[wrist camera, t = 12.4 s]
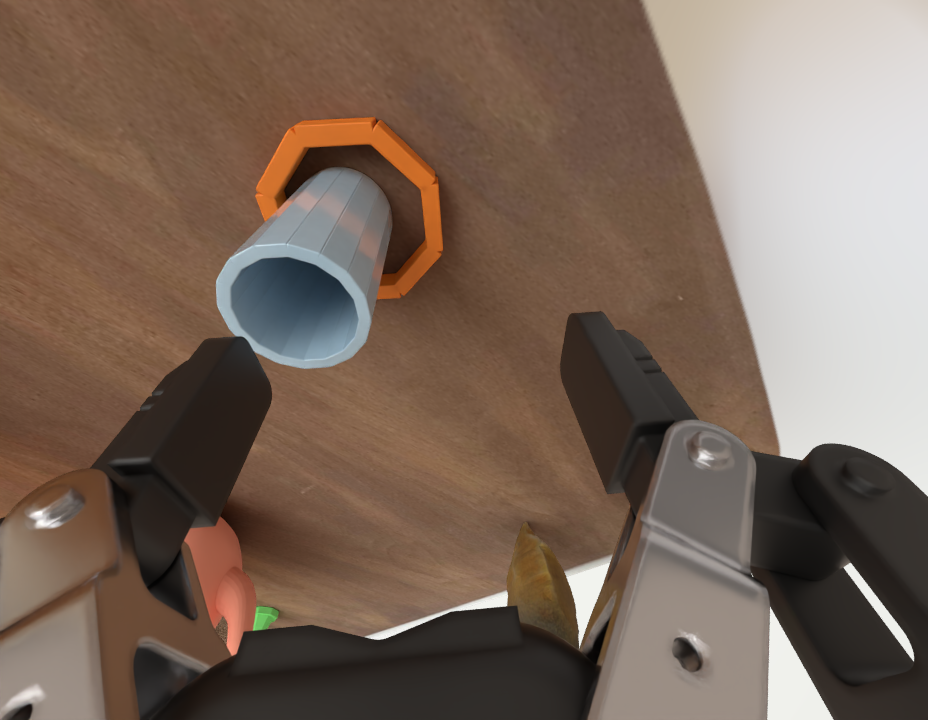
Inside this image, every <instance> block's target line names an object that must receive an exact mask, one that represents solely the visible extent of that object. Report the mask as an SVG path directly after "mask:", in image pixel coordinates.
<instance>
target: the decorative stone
mask: <svg viewBox="0 0 928 720" xmlns="http://www.w3.org/2000/svg"><path fill="white" fill-rule="evenodd" d="M507 592H508V604H507V606H517V607H518V613H519V619H520V622H522V623H526V624H531V625H534V626H536V627H539V628H542V629H544V630H547V631H549V632H551V633H553V634H555V635H556V636H558V637H560V638H562V639H564V640H565V641H567V642H568V643H570V644H571V645H572V646H574V647H575V648H577V649H578V650H579V641H578V634H579V630H578V624H577V619H576V608H575V603H574V598H573V595H572V592H571V588H570V586H569V583H568V581H567V578H566V575H565V573H564V571H563V569H562V567H561V565H560V564H559V562H558V560H557V558H556V556H555V555H554V553H553V552H552V550H551V549H550V548H549V547H548V546H547V545H546V544H545V543H544V542H543V541H542V540H541V539H540V538H539V537H538V536H535V535H534V533H533V532H532V530H531V529H530V527H529V526H528V523H527V522H525V523H524V524H523V525H522V528H521V530H520V533H519V536H518V538H517V541H516V544H515V549H514V553H513V557H512V561H511V565H510V568H509V572H508V576H507Z"/></svg>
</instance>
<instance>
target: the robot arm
mask: <svg viewBox="0 0 928 720" xmlns="http://www.w3.org/2000/svg"><path fill="white" fill-rule="evenodd" d="M560 372H561V379H562V383H563V386H564V388H565V390H566V393H567V395H568V398H569V400H570V403H571V405H572V408H573V410H574V413H575V415H576V418H577V420H578V423H579V425H580V428H581V430H582V433H583V435H584V438H585V440H586V443H587V445H588V448H589V450H590V453H591V455H592V458H593V460H594V463H595V465H596V468H597V470H598V472H599V475H600V477H601V480H602V482H603V485H604V487H605V490H606V492H607V494H614V493H625V494H626V496H627V498H628V500H629V503H630V507H629V509H628V511H627V514H626V517H625V520H624V523H623V526H622V529H621V532H620V535H619V538H618V541H617V544H616V547H615V550H614V553H613V556H612V559H611V562H610V565H609V568H608V571H607V574H606V577H605V580H604V584H603V586H602V589H601V592H600V595H599V597H598V599H597V602H596V604H595V607H594V609H593V611H592V614H591V617H590V619H589V622H588V625H587V628H586V631H585V634H584V637H583V640H582V643H581V646H580V649H579V650H578V649H577V648H575V647H574V646H572V645H571V644H570V643H568V642H567V641H565V640H564V639H562V638H560V637H558V636H556V635H555V634H553V633H551V632H549V631H547V630H544V629H542V628H539V627H536V626H534V625H531V624H526V623H522V622H520V619H519V613H518V607H517V606H506V607H496V608H486V609H475V610H464V611H454V612H449V613H447V614H445V615H442V616H440V617H437V618H435V619H432V620H430V621H428V622H425V623H423V624H420V625H418V626H415V627H413V628H411V629H408V630H406V631H403V632H401V633H399V634H396V635H394V636H391V637H389V638H386V639H382V640H374V639H369V638H365V637H361V636H356V635H352V634H348V633H344V632H339V631H335V630H331V629H327V628H323V627H318V626H314V625H307V626H296V627H286V628H275V629H265V630H254V631H244V632H243V635H242V638H241V641H240V644H239V647H238V651H237V654H235V655H233V656H232V655H231V653H230V651H229V649H228V648H227V646H226V644H225V643H224V641H223V640H222V639H221V637H220V636H219V635H218V633H217V632H216V630H215V628H214V626H213V624H212V622H211V619H210V616H209V612H208V609H207V605H206V602H205V598H204V595H203V591H202V588H201V584H200V581H199V577H198V574H197V570H196V567H195V563H194V560H193V557H192V553H191V550H190V547H189V545H188V544H187V543H186V542H185V541H184V540H185V538H186V536H187V534H188V532H189V530H190V528H201V527H213V526H216V524H217V522H218V519H219V517H220V515H221V513H222V511H223V508H224V506H225V504H226V502H227V500H228V497H229V495H230V493H231V491H232V489H233V486H234V484H235V482H236V480H237V478H238V475H239V473H240V471H241V469H242V467H243V464H244V462H245V460H246V458H247V456H248V453H249V451H250V449H251V447H252V445H253V442H254V440H255V438H256V436H257V433H258V431H259V429H260V427H261V425H262V422H263V420H264V418H265V416H266V414H267V411H268V409H269V407H270V404H271V400H272V390H271V385H270V382H269V380H268V378H267V376H266V374H265V372H264V370H263V368H262V366H261V364H260V363H259V361H258V359H257V357H256V355H255V353H254V351H253V349H252V347H251V345H250V343H249V342H248V341H247V339H245V338H244V337H242V336H236V337H222V338H209V339H206V340H204V341H203V342H202V344H201V345H200V346H199V347H198V349H197V350H196V351H195V352H194V354H193V355H192V356H191V357H190V359H189V360H188V361H185V362H184V363H183V364H181V365H180V366H179V367H177V368H176V369H175V370H173V371H172V372H170V373H169V374H168V375H166V376H165V377H164V379H163V380H162V381H161V382H160V384H159V385H158V386H157V387H156V388H155V390H154V391H153V392H152V396H150V397H148V398H147V399H146V401H145V402H144V403H143V404H142V405H141V407H140V411H137V412H136V413H135V414H134V415H133V416H132V418H131V419H130V420H129V421H128V423H127V424H126V425H125V426H124V427H123V429H122V430H121V431H120V432H119V434H118V435H117V436H116V437H115V438H114V440H113V441H112V442H111V443H110V445H109V446H108V447H107V448H106V449H105V451H104V452H103V453H102V454H101V456H100V457H99V458H98V459H97V460H96V462H95V463H94V464H93V465H92V467H91V468H88V469H80V470H76V471H72V472H69V473H66V474H63V475H61V476H58V477H56V478H54V479H52V480H50V481H48V482H46V483H45V484H43V485H41V486H40V487H38V488H37V489H35V490H34V491H32V492H31V493H29V494H28V495H27V496H26V497H25V498H23V499H22V500H21V501H20V502H19V503H18V504H17V505H16V506H15V507H14V508H13V509H12V510H11V511H10V512H9V513H8V515H7V516H6V517H4V518H1V519H0V720H767V706H768V663H769V625H770V607H771V609H772V610H773V612H774V614H775V616H776V618H777V619H778V621H779V623H780V625H781V627H782V628H783V630H784V632H785V634H786V635H787V637H788V639H789V641H790V642H791V644H792V646H793V648H794V650H795V651H796V653H797V655H798V657H799V659H800V660H801V662H802V664H803V666H804V668H805V669H806V671H807V673H808V674H809V676H810V678H811V680H812V682H813V683H814V685H815V687H816V689H817V691H818V692H819V694H820V696H821V698H822V700H823V701H824V703H825V705H826V707H827V708H828V710H829V712H830V714H831V716H832V717H833V719H834V720H928V496H927V495H925V494H924V493H923V492H922V491H921V490H920V489H919V488H918V487H917V486H916V485H915V484H914V483H913V482H912V481H911V480H910V479H909V478H907V477H906V476H905V475H904V474H903V473H902V472H901V471H899V470H898V469H897V468H895V467H894V466H892V465H891V464H889V463H888V462H886V461H884V460H883V459H881V458H879V457H877V456H875V455H873V454H871V453H868V452H866V451H864V450H861V449H858V448H855V447H851V446H847V445H842V444H822V445H819V446H817V447H815V448H814V449H813V450H812V451H811V452H810V453H809V454H808V455H807V456H806V457H805V458H804V459H803V460H797V459H791V458H786V457H781V456H775V455H770V454H764V453H759V452H754V451H750V450H749V449H748V447H747V446H746V445H745V444H744V443H743V442H742V441H741V440H740V439H739V438H738V437H736V436H735V435H734V434H732V433H731V432H729V431H727V430H726V429H724V428H722V427H720V426H717V425H715V424H712V423H708V422H705V421H700V420H699V419H698V418H697V417H696V415H695V414H694V413H693V411H692V410H691V408H690V407H689V406H688V404H687V403H686V402H685V400H684V399H683V398H682V396H681V395H680V393H679V392H678V391H677V389H676V388H675V387H674V385H673V384H672V383H671V381H670V380H669V378H668V377H667V376H666V374H665V373H664V372H661V368H660V366H659V365H658V363H657V362H656V361H655V359H654V360H653V359H652V355H651V354H650V353H649V351H648V350H647V349H646V347H645V346H644V344H643V343H642V342H641V341H640V340H638V339H637V338H635V337H634V336H632V335H631V334H629V333H628V332H627V331H625V330H615V328H614V327H613V326H612V324H611V323H610V321H609V320H608V318H607V317H606V315H605V314H604V313H603V312H601V311H599V312H585V313H572V314H570V315H569V317H568V321H567V326H566V332H565V338H564V344H563V349H562V355H561V362H560ZM849 563H852V565H853V566H854V567H855V569H856V570H857V571H858V572H859V574H860V575H861V576H862V578H863V579H864V580H865V582H866V583H867V584H868V586H869V587H870V588H871V589H872V591H873V592H874V593H875V595H876V596H877V597H878V599H879V600H880V601H881V602H882V604H883V605H884V606H885V608H886V609H887V610H888V611H889V613H890V614H891V615H892V617H893V618H894V619H895V621H896V622H897V623H898V625H899V626H900V627H901V629H902V630H903V631H904V633H905V634H906V636H907V638H908V639H909V641H910V644H911V646H912V649H913V652H914V662H913V660H912V659H911V658H910V657H909V655H908V654H907V653H906V651H905V650H904V648H903V647H902V646H901V644H900V643H899V642H898V640H897V639H896V638H895V636H894V635H893V634H892V632H891V631H890V630H889V628H888V627H887V626H886V625H885V623H884V622H883V620H882V619H881V618H880V616H879V615H878V614H877V612H876V611H875V610H874V608H873V607H872V606H871V604H870V603H869V602H868V600H867V599H866V598H865V596H864V595H863V594H862V592H861V591H860V589H859V588H858V587H857V585H856V584H855V583H854V581H853V580H852V579H851V577H850V576H849V575H848V573H847V572H846V571H845V569H844V568H843V567H844V566H846V565H847V564H849ZM751 573H752V575H753V577H752V575H751Z"/></svg>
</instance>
